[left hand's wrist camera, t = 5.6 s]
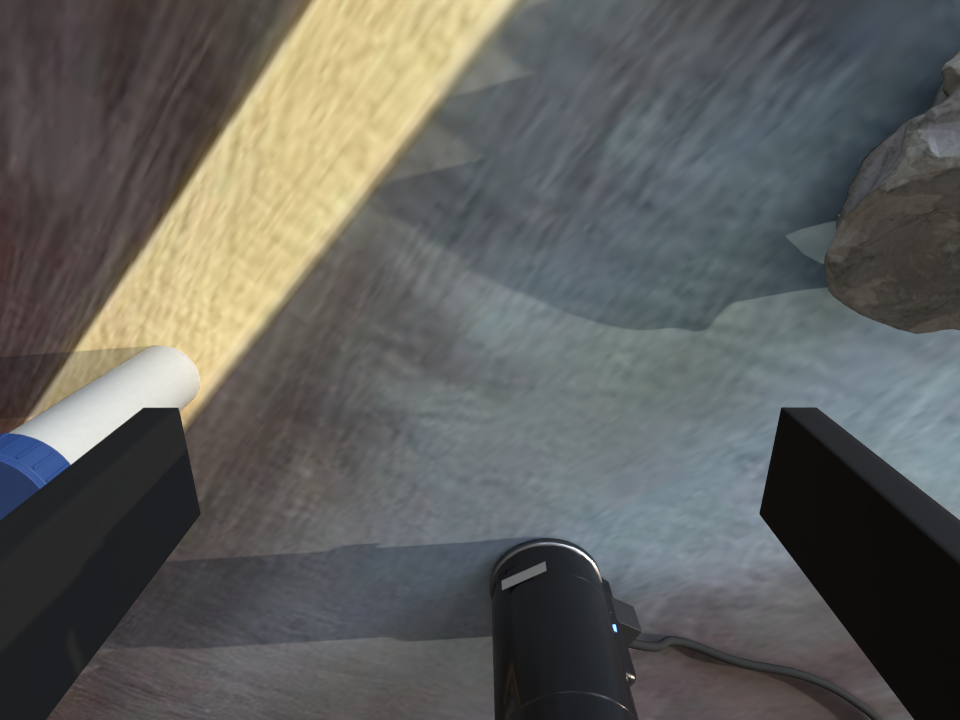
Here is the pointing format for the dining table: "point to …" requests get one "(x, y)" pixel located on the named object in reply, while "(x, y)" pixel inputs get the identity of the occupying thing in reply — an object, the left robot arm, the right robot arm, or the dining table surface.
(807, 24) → the dining table surface
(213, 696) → the dining table surface
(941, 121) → the decorative stone
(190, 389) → the white bottle
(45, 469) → the lid
